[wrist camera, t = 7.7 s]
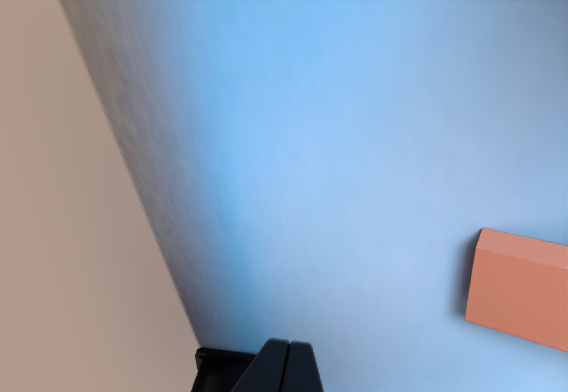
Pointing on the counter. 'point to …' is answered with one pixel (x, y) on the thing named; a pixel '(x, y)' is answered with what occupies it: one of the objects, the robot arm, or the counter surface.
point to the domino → (520, 288)
